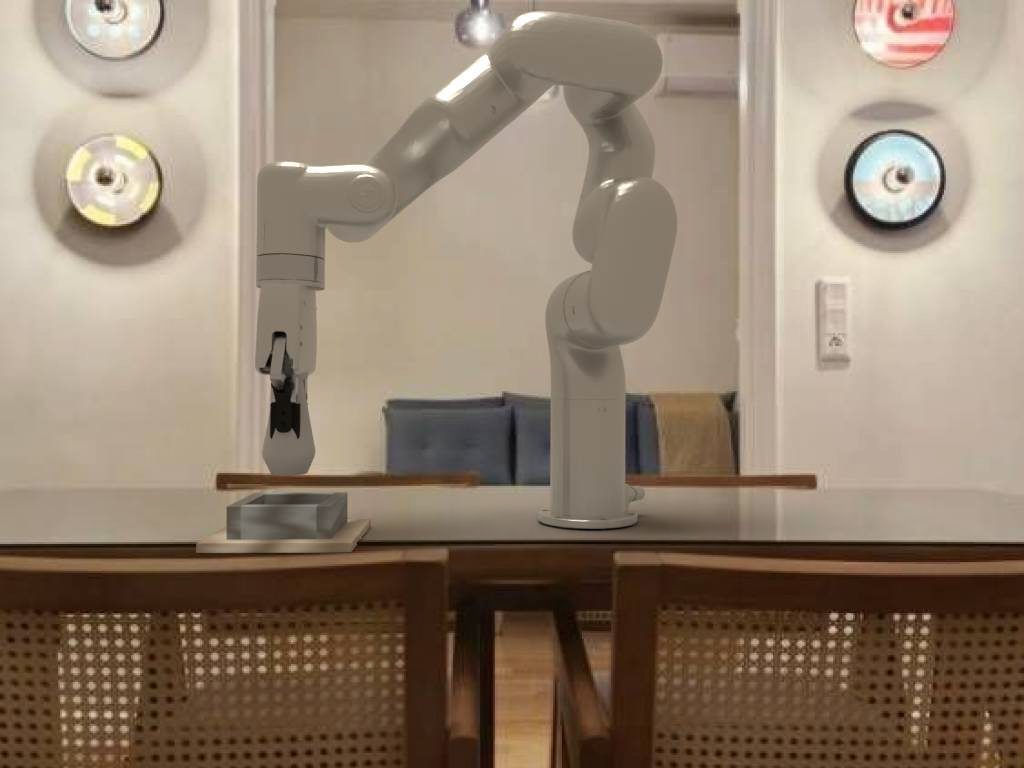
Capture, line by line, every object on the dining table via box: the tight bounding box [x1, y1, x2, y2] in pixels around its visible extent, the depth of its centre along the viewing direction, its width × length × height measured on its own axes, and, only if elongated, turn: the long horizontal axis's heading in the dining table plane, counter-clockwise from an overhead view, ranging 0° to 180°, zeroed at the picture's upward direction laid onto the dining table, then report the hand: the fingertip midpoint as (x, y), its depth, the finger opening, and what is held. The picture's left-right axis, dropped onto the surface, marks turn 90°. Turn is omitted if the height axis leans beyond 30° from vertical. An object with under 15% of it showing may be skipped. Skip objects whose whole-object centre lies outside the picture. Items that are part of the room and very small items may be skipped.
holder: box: [195, 491, 372, 554], centre depth 95 cm, size 16×15×4 cm
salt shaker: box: [261, 362, 316, 476], centre depth 95 cm, size 6×6×13 cm
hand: (289, 436), depth 95 cm, fingers closed on salt shaker, 3 cm apart
